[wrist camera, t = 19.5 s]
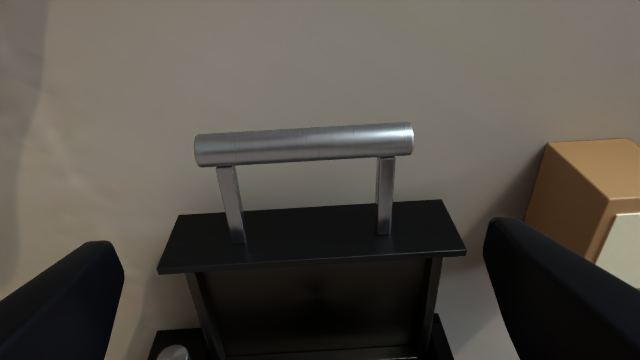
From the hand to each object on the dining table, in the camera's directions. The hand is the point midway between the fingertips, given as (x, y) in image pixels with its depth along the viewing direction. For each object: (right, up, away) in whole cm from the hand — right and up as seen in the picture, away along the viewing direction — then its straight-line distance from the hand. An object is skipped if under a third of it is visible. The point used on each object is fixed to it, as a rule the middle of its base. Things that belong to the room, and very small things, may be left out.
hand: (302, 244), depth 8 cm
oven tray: (0, -3, +16) cm, 16 cm away
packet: (+15, +1, +15) cm, 21 cm away
